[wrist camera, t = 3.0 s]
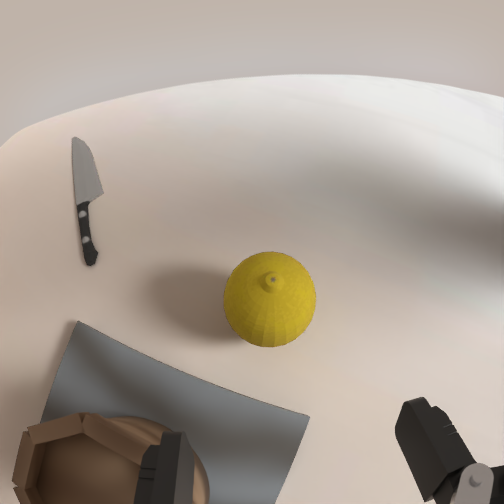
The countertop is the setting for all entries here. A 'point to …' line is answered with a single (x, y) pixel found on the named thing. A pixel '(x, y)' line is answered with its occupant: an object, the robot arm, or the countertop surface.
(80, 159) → the chef's knife
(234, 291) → the lemon
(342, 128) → the countertop surface
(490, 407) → the countertop surface
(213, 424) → the pot with square base
